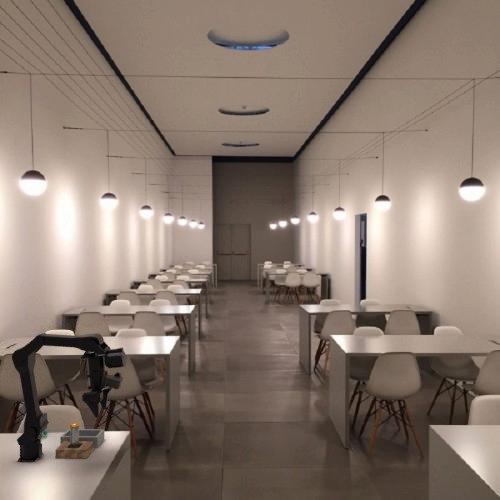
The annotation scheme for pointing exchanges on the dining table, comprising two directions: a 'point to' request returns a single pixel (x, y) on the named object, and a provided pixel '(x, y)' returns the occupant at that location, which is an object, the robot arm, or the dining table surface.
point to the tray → (86, 436)
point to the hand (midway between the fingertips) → (101, 413)
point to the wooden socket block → (74, 450)
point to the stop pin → (74, 435)
